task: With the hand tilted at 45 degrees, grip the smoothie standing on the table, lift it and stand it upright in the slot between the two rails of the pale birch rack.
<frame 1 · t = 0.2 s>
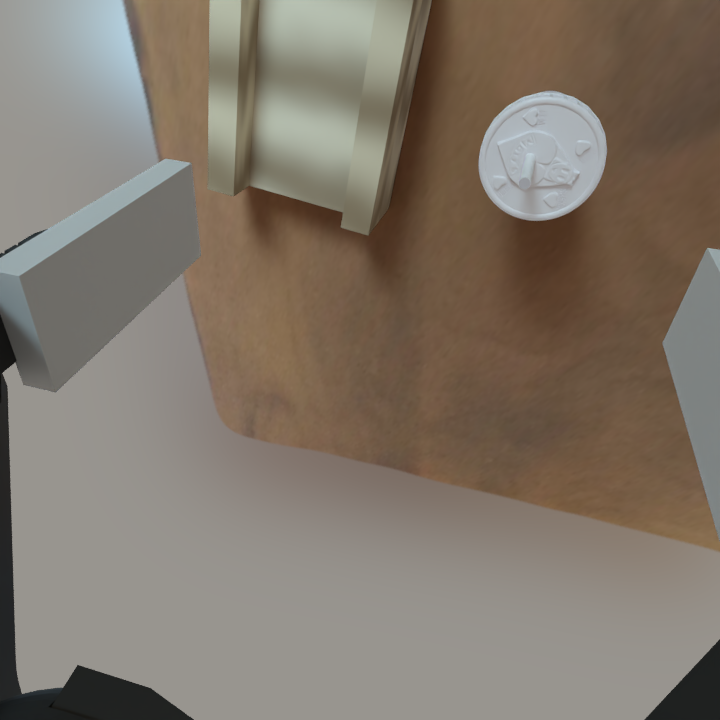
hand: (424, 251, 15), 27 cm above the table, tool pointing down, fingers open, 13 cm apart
smoothie: (547, 121, 38), on the table
rack: (329, 67, 40), on the table
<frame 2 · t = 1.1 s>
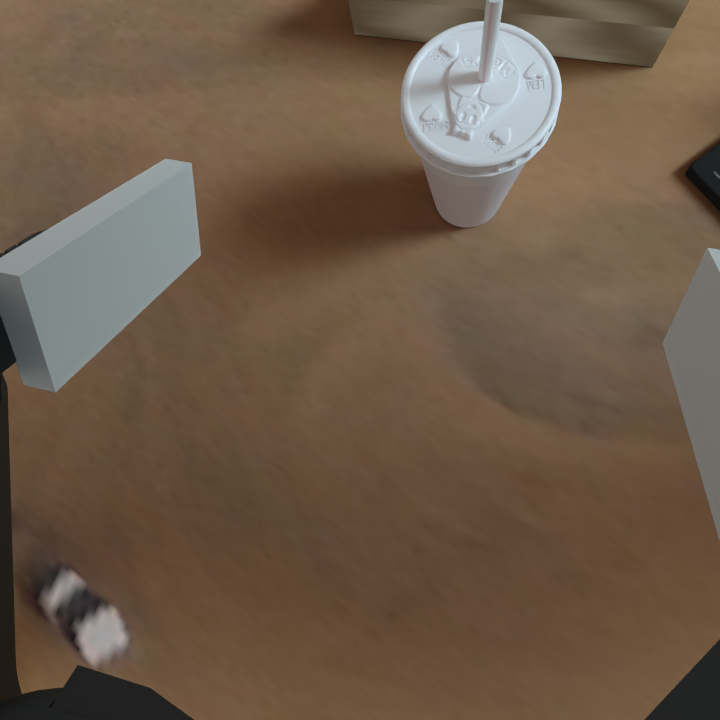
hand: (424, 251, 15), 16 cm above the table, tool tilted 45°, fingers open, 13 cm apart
smoothie: (467, 197, 33), on the table
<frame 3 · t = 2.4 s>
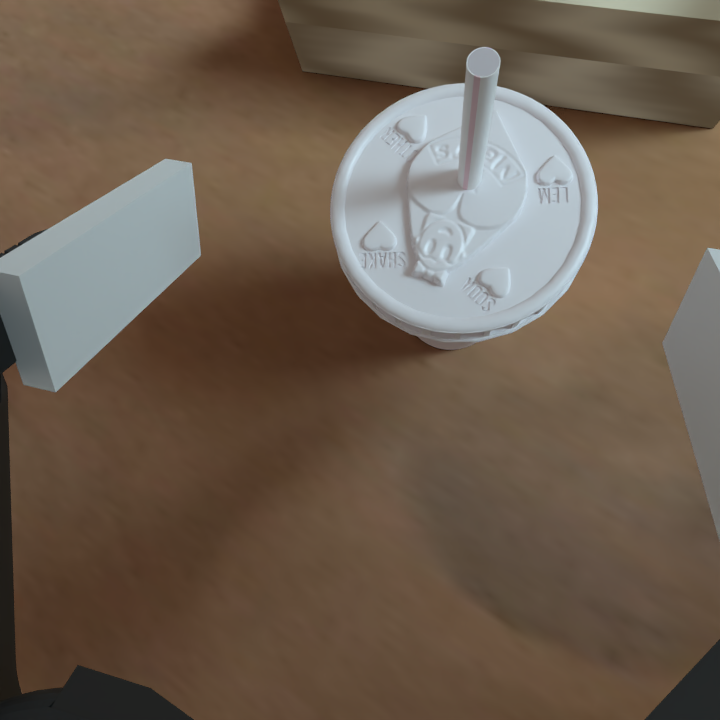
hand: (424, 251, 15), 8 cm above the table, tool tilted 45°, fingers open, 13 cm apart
smoothie: (450, 305, 24), on the table
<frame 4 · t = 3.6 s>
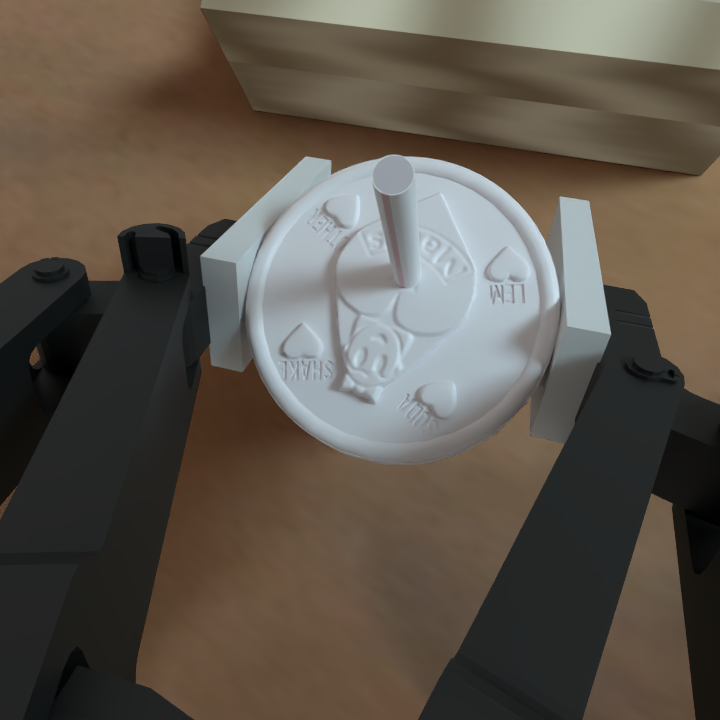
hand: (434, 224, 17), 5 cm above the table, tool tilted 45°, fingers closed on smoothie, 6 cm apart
smoothie: (413, 371, 21), on the table, touching gripper
rack: (494, 0, 23), on the table
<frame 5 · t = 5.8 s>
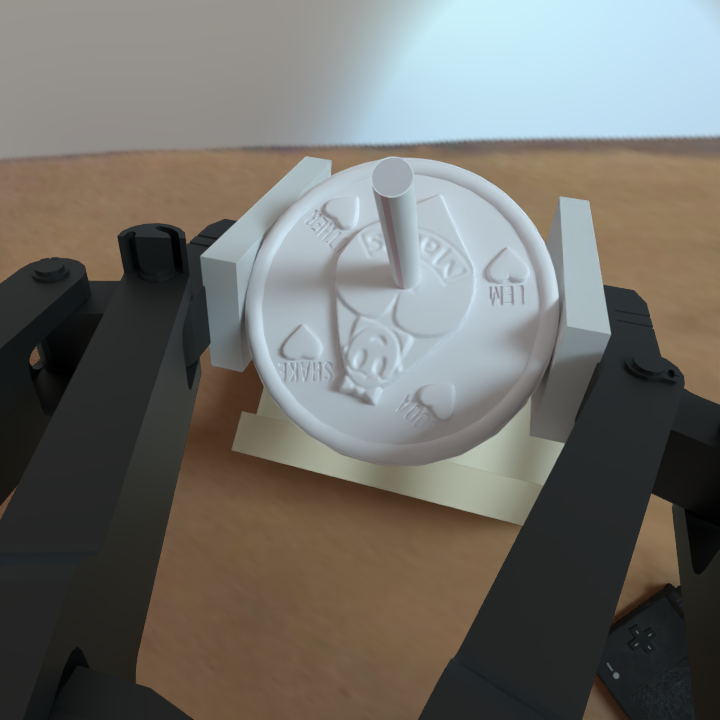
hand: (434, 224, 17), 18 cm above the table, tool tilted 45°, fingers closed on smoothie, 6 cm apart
smoothie: (413, 372, 21), point 13 cm above the table, touching gripper
rack: (426, 384, 34), on the table
handheld gaming console: (715, 687, 30), on the table
when the fingers open (9 cm above the table, at t = 7.9 s): smoothie drops 1 cm, resting on rack.
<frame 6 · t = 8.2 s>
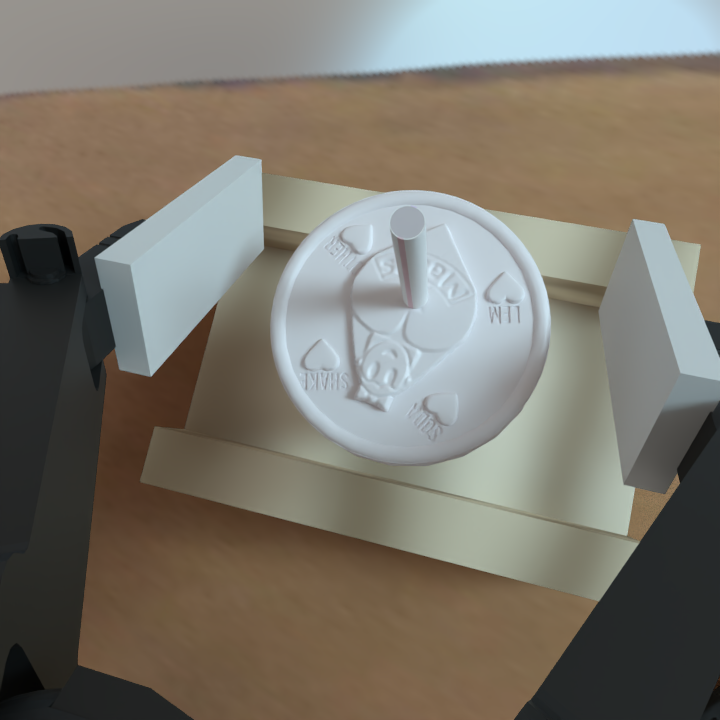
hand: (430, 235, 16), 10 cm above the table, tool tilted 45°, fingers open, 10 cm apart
smoothie: (417, 379, 23), point 3 cm above the table, touching rack
rack: (417, 385, 25), on the table
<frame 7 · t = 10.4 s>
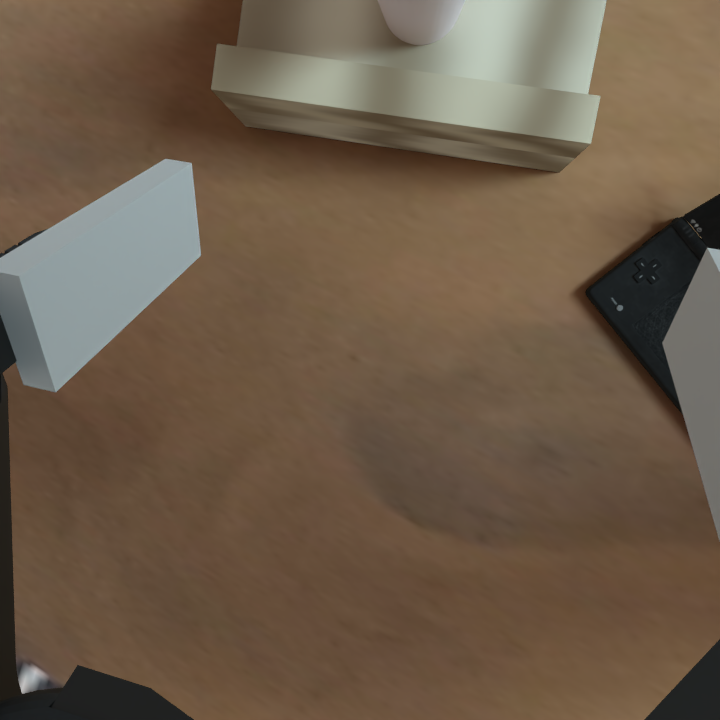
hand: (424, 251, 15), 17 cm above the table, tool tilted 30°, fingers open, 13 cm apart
smoothie: (421, 6, 28), point 3 cm above the table, touching rack
rack: (418, 32, 31), on the table
handheld gaming console: (714, 315, 31), on the table
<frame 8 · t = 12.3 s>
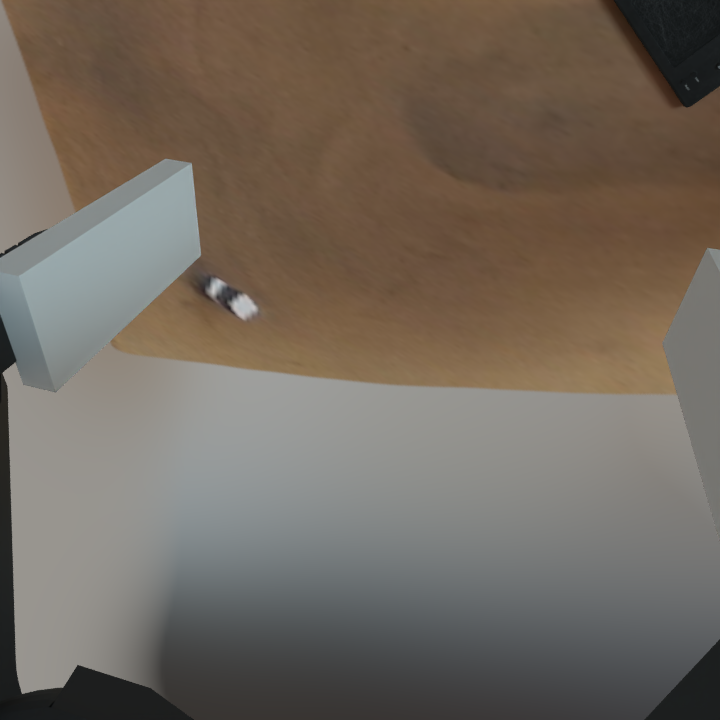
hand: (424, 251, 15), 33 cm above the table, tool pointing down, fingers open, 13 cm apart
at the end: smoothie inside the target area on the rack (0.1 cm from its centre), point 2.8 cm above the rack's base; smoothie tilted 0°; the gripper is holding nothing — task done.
